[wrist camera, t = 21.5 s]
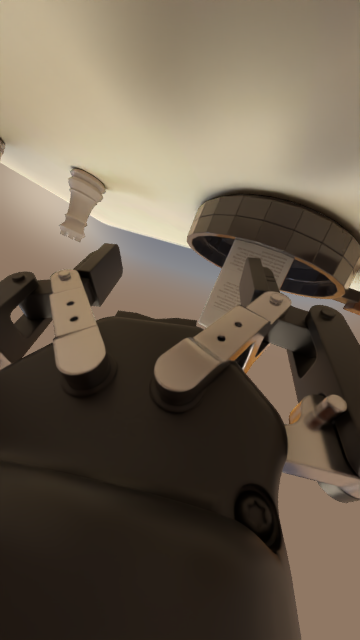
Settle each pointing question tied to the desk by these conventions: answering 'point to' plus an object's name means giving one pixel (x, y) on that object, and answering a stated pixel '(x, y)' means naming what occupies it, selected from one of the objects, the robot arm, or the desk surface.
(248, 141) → the desk surface
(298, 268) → the pan
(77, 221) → the rook chess piece
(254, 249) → the small box
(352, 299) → the pan handle
